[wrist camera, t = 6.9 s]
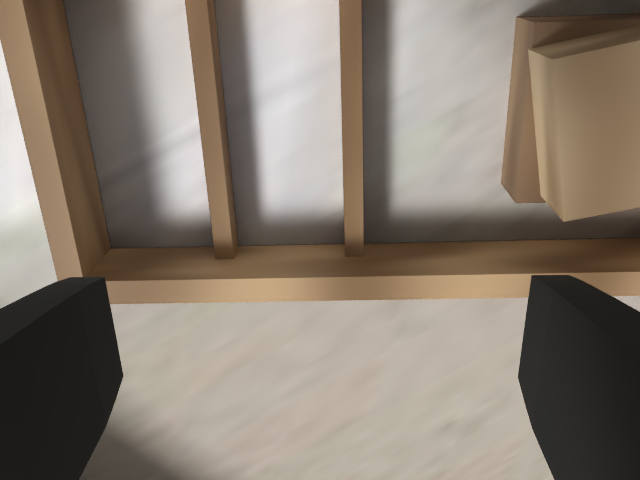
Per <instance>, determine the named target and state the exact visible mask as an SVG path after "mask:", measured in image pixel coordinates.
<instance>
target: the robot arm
mask: <svg viewBox="0 0 640 480" xmlns="http://www.w3.org/2000/svg"><path fill="white" fill-rule="evenodd" d="M122 378H123V372H122V367H121V361H120V356H119V350H118V345H117V340H116V334H115V329H114V324H113V318H112V313H111V308H110V302H109V297H108V291H107V286H106V281H105V277H69V278H66V279H63V280H60V281H58V282H55V283H53V284H51V285H48V286H46V287H44V288H42V289H40V290H37V291H35V292H33V293H31V294H29V295H27V296H25V297H23V298H21V299H19V300H17V301H15V302H13V303H11V304H9V305H7V306H5V307H3V308H1V309H0V480H79V478H80V476H81V474H82V472H83V471H84V469H85V467H86V465H87V463H88V461H89V459H90V457H91V455H92V453H93V451H94V449H95V447H96V445H97V443H98V441H99V439H100V437H101V435H102V433H103V431H104V429H105V427H106V425H107V422H108V419H109V417H110V414H111V411H112V408H113V406H114V403H115V400H116V397H117V394H118V391H119V388H120V385H121V382H122ZM518 379H519V383H520V386H521V390H522V394H523V398H524V401H525V405H526V409H527V412H528V415H529V419H530V422H531V425H532V429H533V431H534V434H535V436H536V438H537V441H538V443H539V445H540V448H541V450H542V452H543V455H544V457H545V459H546V461H547V464H548V466H549V468H550V471H551V473H552V475H553V477H554V480H640V312H639V311H637V310H635V309H633V308H632V307H630V306H628V305H626V304H625V303H623V302H621V301H619V300H617V299H616V298H614V297H612V296H610V295H609V294H607V293H605V292H603V291H601V290H599V289H598V288H596V287H594V286H592V285H590V284H588V283H586V282H584V281H582V280H580V279H578V278H575V277H573V276H570V275H531V282H530V290H529V298H528V305H527V313H526V320H525V328H524V335H523V343H522V351H521V358H520V366H519V373H518Z"/></svg>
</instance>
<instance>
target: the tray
mask: <svg viewBox="0 0 640 480" xmlns="http://www.w3.org/2000/svg"><path fill="white" fill-rule="evenodd" d="M185 5H186V14H187V22H188V31H189V39H190V48H191V56H192V65H193V73H194V82H195V90H196V99H197V107H198V116H199V124H200V133H201V141H202V150H203V158H204V167H205V175H206V184H207V192H208V201H209V209H210V218H211V226H212V235H213V243H214V247H172V248H122V249H111V247H110V242H109V237H108V232H107V226H106V221H105V216H104V211H103V206H102V201H101V195H100V190H99V185H98V180H97V175H96V170H95V164H94V159H93V154H92V149H91V144H90V139H89V133H88V128H87V123H86V118H85V113H84V108H83V102H82V97H81V92H80V87H79V82H78V77H77V71H76V66H75V61H74V56H73V51H72V46H71V40H70V35H69V30H68V25H67V20H66V15H65V9H64V4H63V0H0V40H1V44H2V48H3V52H4V57H5V61H6V65H7V69H8V73H9V78H10V82H11V86H12V90H13V94H14V99H15V103H16V107H17V111H18V115H19V120H20V124H21V128H22V132H23V136H24V141H25V145H26V149H27V153H28V157H29V162H30V166H31V170H32V174H33V178H34V183H35V187H36V191H37V195H38V200H39V204H40V208H41V212H42V216H43V221H44V225H45V229H46V233H47V237H48V242H49V246H50V250H51V254H52V258H53V263H54V267H55V271H56V275H57V279H58V281H60V280H63V279H66V278H69V277H105V281H106V286H107V291H108V297H109V302H110V304H143V303H206V302H269V301H331V300H394V299H456V298H519V297H529V290H530V282H531V275H570V276H573V277H575V278H578V279H580V280H582V281H584V282H586V283H588V284H590V285H592V286H594V287H596V288H598V289H599V290H601V291H603V292H605V293H607V294H609V295H610V296H640V238H621V239H571V240H521V241H471V242H421V243H371V244H364V232H363V112H362V0H339V9H340V54H341V99H342V144H343V189H344V235H345V244H322V245H272V246H238V236H237V226H236V216H235V206H234V196H233V186H232V176H231V166H230V156H229V146H228V136H227V126H226V116H225V106H224V95H223V85H222V75H221V65H220V55H219V45H218V35H217V25H216V15H215V5H214V0H185Z"/></svg>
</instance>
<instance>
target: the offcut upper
mask: <svg viewBox="0 0 640 480" xmlns="http://www.w3.org/2000/svg"><path fill="white" fill-rule="evenodd" d="M528 54H529V66H530V77H531V89H532V100H533V112H534V123H535V135H536V147H537V158H538V170H539V182H540V193H541V197H542V198H543V199H544V200H545V201H546V202H547V204H548V205H549V206H550V207H551V208H552V209H553V210H554V212H555V213H556V214H557V215H558V216H559V217H560V218H561V220H562V221H563V222H566V221H571V220H576V219H582V218H587V217H592V216H598V215H603V214H608V213H613V212H619V211H624V210H629V209H635V208H640V24H639V25H635V26H630V27H626V28H621V29H617V30H612V31H608V32H603V33H599V34H595V35H590V36H586V37H581V38H577V39H572V40H568V41H563V42H559V43H554V44H550V45H545V46H541V47H536V48H531V49H528Z"/></svg>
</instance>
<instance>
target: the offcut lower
mask: <svg viewBox="0 0 640 480" xmlns="http://www.w3.org/2000/svg"><path fill="white" fill-rule="evenodd" d="M639 24H640V13H638V14H606V15H574V16H542V17H516V26H515V37H514V48H513V59H512V69H511V80H510V91H509V102H508V113H507V123H506V134H505V145H504V156H503V166H502V177H501V184H502V185H503V187H504V188H505V189H506V191H507V192H508V193H509V195H510V196H511V197H512V199H513V200H514V202H515V203H547V202H546V201H545V200H544V199H543V198H542V197H541V193H540V182H539V170H538V158H537V147H536V135H535V123H534V112H533V100H532V89H531V77H530V66H529V54H528V49H531V48H536V47H541V46H545V45H550V44H554V43H559V42H563V41H568V40H572V39H577V38H581V37H586V36H590V35H595V34H599V33H603V32H608V31H612V30H617V29H621V28H626V27H630V26H635V25H639Z"/></svg>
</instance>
